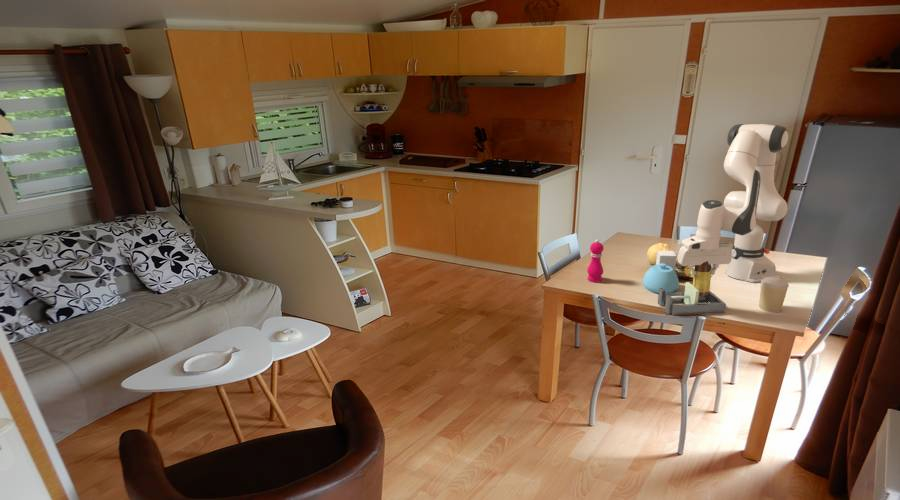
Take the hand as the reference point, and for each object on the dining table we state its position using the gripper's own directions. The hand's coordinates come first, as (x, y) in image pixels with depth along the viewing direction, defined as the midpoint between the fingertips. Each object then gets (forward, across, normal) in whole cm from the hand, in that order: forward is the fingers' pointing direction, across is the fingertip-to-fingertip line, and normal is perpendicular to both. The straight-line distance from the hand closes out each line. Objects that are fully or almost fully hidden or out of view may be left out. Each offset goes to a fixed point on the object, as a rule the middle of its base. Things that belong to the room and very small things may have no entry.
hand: (702, 274), depth 207 cm
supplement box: (+15, +1, -30) cm, 34 cm away
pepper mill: (+15, +33, -32) cm, 49 cm away
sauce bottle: (+9, 0, 0) cm, 9 cm away
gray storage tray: (+15, +3, 0) cm, 15 cm away
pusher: (+14, +7, 0) cm, 16 cm away
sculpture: (+15, -4, -48) cm, 50 cm away
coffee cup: (+15, -28, +4) cm, 32 cm away
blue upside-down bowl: (+15, +8, -20) cm, 26 cm away
